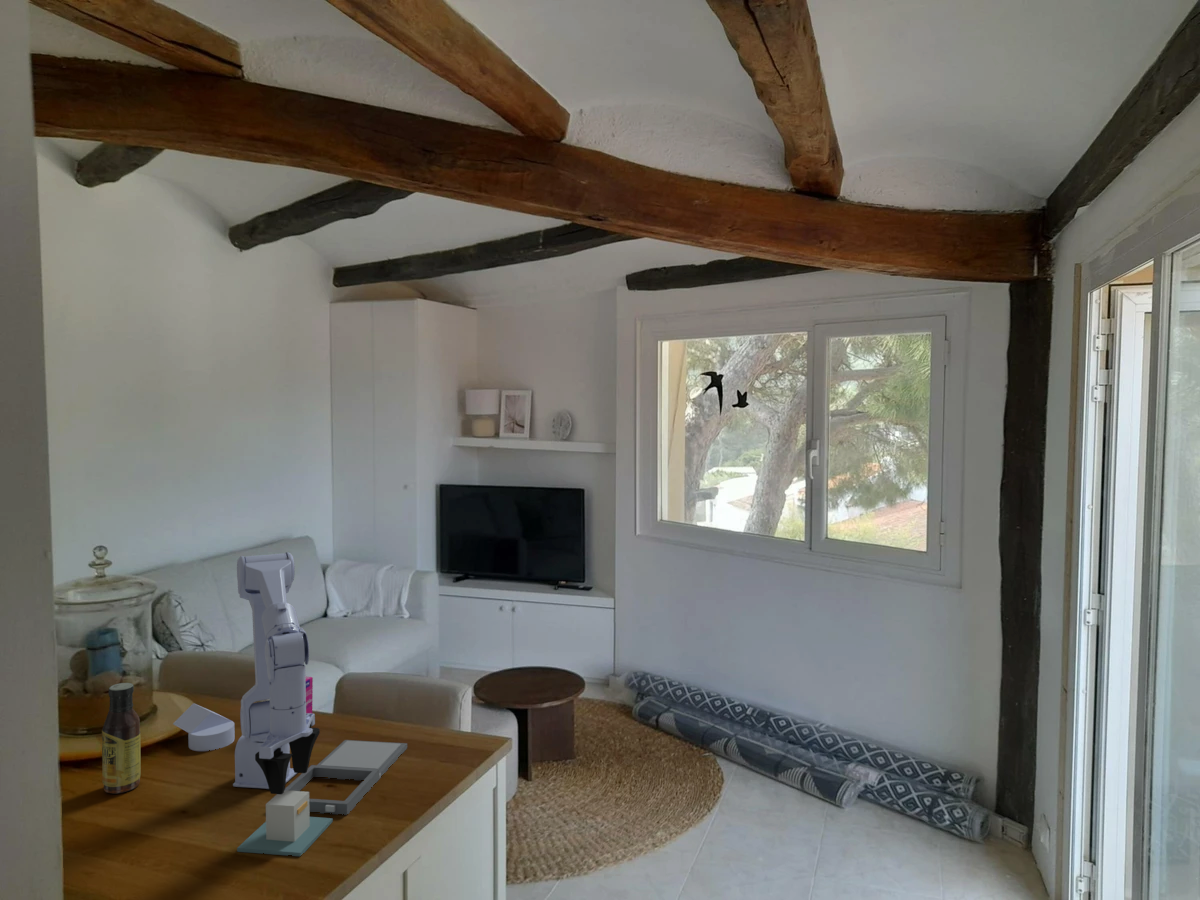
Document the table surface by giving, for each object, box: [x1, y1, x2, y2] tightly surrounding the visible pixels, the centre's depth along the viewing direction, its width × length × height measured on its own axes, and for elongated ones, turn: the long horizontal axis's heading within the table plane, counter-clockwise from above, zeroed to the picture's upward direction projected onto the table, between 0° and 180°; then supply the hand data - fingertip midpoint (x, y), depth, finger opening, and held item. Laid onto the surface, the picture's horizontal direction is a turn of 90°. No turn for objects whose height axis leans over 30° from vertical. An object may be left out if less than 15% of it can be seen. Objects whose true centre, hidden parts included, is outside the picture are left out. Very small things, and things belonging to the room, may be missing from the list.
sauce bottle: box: [101, 682, 142, 795], centre depth 150 cm, size 6×6×20 cm
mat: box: [236, 816, 334, 857], centre depth 133 cm, size 11×11×1 cm
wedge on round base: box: [172, 702, 236, 752], centre depth 173 cm, size 9×7×13 cm
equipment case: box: [285, 739, 408, 816], centre depth 155 cm, size 14×29×2 cm, turn 172°
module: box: [265, 790, 311, 842], centre depth 133 cm, size 5×5×6 cm
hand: (289, 782), depth 134 cm, fingers open, 7 cm apart
